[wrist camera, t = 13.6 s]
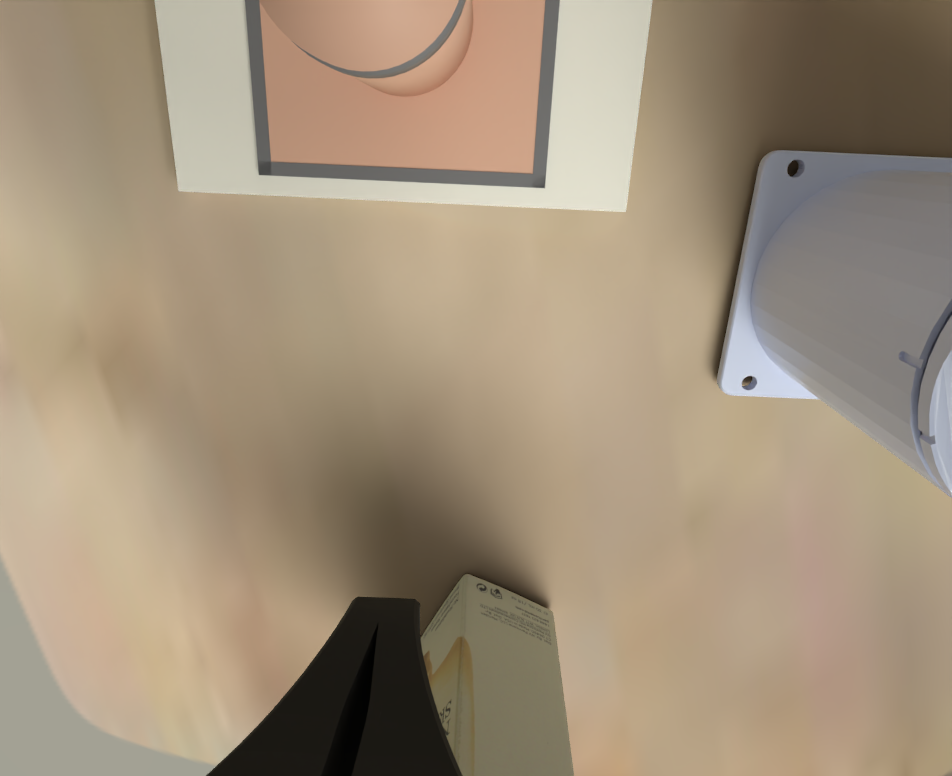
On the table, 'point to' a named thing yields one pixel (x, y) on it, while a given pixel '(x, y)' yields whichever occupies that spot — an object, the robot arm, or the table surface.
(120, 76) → the table surface
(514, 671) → the skincare box
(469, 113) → the picture board
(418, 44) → the cylinder
